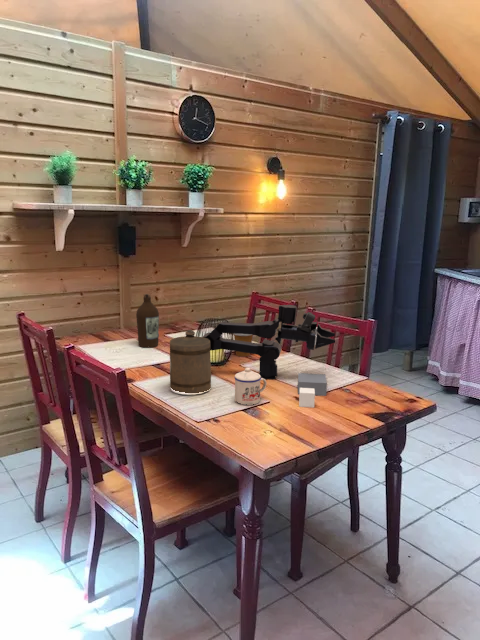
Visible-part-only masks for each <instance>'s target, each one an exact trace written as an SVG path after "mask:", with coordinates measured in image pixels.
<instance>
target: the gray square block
mask: <svg viewBox="0 0 480 640" xmlns="http://www.w3.org/2000/svg"><path fill="white" fill-rule="evenodd" d="M327 386H328V382H327V377H326V374H325V373H324V374H323V373H308V372H306V373H305V372H304V373H302V372H298V373H297V395H299V393H300V388H314V389H315V396H319V397H320V396H323V397H326V396H327V388H328V387H327Z"/></svg>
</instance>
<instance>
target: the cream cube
mask: <svg viewBox="0 0 480 640" xmlns="http://www.w3.org/2000/svg"><path fill="white" fill-rule="evenodd" d="M298 395H299V398H298V407H300V408H315V399H316V395H315V389H314V388H300V393H299V394H298Z"/></svg>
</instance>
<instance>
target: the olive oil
mask: <svg viewBox="0 0 480 640" xmlns="http://www.w3.org/2000/svg"><path fill="white" fill-rule="evenodd" d="M135 314H136V325H137V339H138V347H141V348H143V349H144V348H146V349H148V348H149V349H151V348H156V347H158V346H159V336H160V335H159V327H160V326H159V325H160V324H159V322H160V321H159V320H160V312H159V309H158V308H157V307H156V306H155V305H154V304H153V303H152V297H151V293H144V294H143V302H142V304H140V306H139V307H138V308H137V311H136V313H135Z"/></svg>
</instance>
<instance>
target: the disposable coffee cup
mask: <svg viewBox="0 0 480 640" xmlns="http://www.w3.org/2000/svg"><path fill="white" fill-rule="evenodd" d="M232 335H233V340H238V341H245V342H252V343H253V335H252V334H234V333H232ZM235 356H237V357H241V358H242V357H243V358H245V357H249V356H251V353H244V352H238V351H235Z"/></svg>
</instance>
